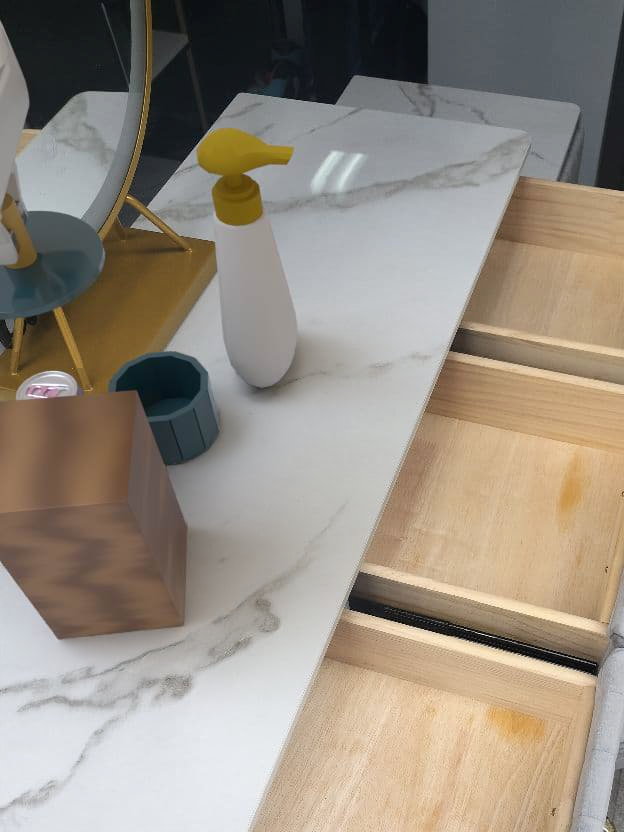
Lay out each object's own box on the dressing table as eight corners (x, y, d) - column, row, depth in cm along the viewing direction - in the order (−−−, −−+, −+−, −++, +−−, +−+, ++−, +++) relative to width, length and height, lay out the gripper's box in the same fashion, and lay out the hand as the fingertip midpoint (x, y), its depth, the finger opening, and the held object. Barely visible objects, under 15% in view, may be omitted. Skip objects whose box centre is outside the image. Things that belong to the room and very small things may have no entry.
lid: (-77, 325, 55) (-116, 262, 51) (-45, 221, 62) (-77, 158, 58) (97, 313, 56) (73, 250, 52) (111, 213, 63) (91, 149, 58)
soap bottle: (311, 406, 96) (282, 174, 72) (224, 402, 96) (165, 170, 72) (323, 332, 103) (300, 99, 79) (241, 328, 103) (194, 95, 79)
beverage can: (81, 465, 90) (30, 365, 78) (132, 473, 90) (89, 373, 78) (58, 507, 87) (2, 409, 75) (111, 516, 87) (63, 419, 74)
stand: (57, 639, 78) (-35, 516, 62) (70, 537, 85) (-9, 401, 69) (183, 626, 79) (126, 501, 63) (187, 526, 86) (136, 389, 69)
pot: (122, 469, 90) (103, 425, 84) (129, 400, 96) (112, 355, 90) (219, 460, 91) (207, 417, 85) (219, 392, 97) (208, 347, 91)
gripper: (-99, -47, 51) (-10, 160, 63) (-194, 129, 40) (-64, 343, 52) (4, -50, 52) (74, 156, 63) (-61, 123, 41) (38, 336, 52)
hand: (12, 241), depth 57 cm, fingers closed on lid, 2 cm apart
